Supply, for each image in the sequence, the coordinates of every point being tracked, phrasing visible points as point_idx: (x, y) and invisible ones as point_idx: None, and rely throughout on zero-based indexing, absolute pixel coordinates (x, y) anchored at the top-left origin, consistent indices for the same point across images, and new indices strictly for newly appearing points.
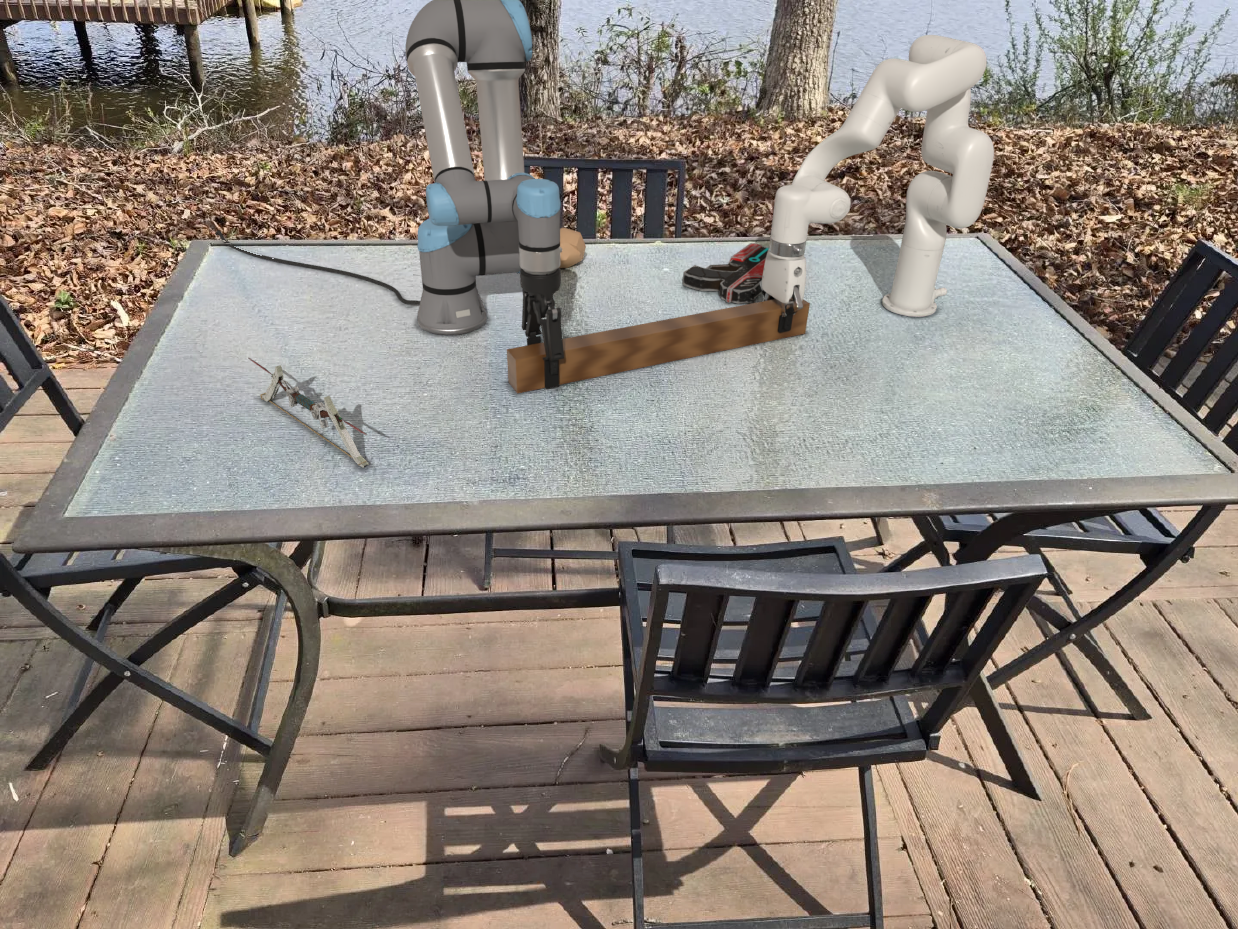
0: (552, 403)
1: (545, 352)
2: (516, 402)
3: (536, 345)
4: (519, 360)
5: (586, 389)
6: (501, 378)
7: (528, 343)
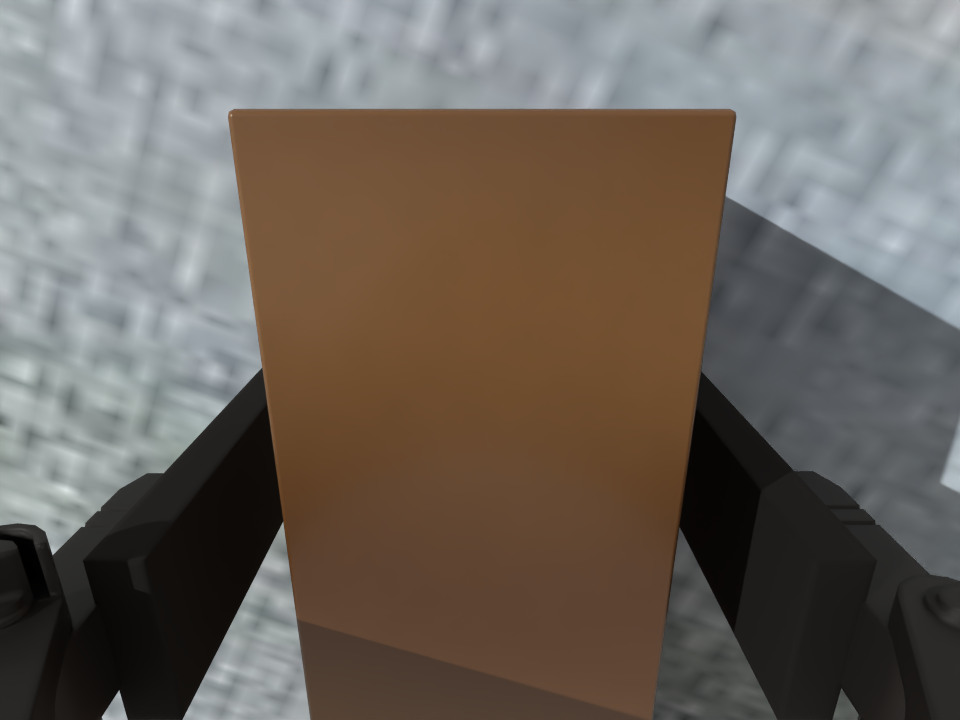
0: (119, 339)
1: (39, 648)
2: (208, 53)
3: (612, 594)
4: (240, 186)
5: (263, 610)
6: (706, 89)
7: (783, 523)
